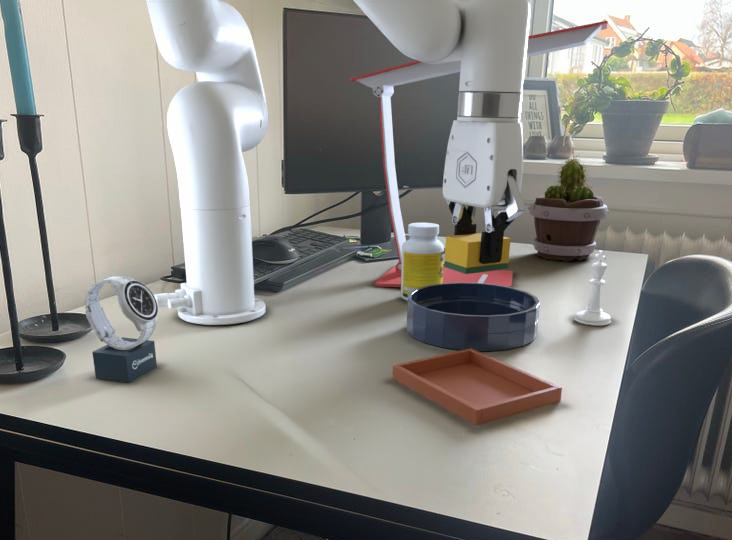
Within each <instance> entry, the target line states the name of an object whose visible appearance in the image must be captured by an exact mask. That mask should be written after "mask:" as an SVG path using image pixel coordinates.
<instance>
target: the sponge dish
mask: <svg viewBox="0 0 732 540" xmlns="http://www.w3.org/2000/svg"><path fill="white" fill-rule="evenodd" d="M391 374H392V379H393V380H395V381H396V382H398V383H400V384H402V385H403V386H405V387H407V388H409V389H411V390H412V391H414V392H416V393H418V394H419V395H421V396H423V397H425V398H427V399H428V400H430V401H432V402H434V403H435V404H437V405H439V406H441V407H442V408H444V409H446V410H448V411H450V412H451V413H453V414H455V415H457V417H458V416H459V417H460V418H462V419H464V420H465V421H467V422H469V423H471V424H472V425H474V426H479V425H483V424H486V423H490V422H493V421H497V420H501V419H504V418H507V417H510V416H511V417H512V416H514V415H518V414H522V413H524V412H529V411H532V410H535V409H536V410H537V409H539V408H543V407H546V406H550V405H554V404H557V403H561V400H562V391H563V387H562V386H559V385H557V384H555V383H553V382H550V381H548V380H546V379H544V378H541V377H539V376H536V375H534V374H532V373H530V372H527V371H525V370H522V369H521V368H518V367H516V366H513V365H511V364H510V363H506V362H505V361H503V360H499V359H498V358H494V357H493V356H491V355H488V354H486V353H484V352H482V351H477V350H474V349H472V348H470V349H466V350H457V351H452V352H447V353H443V354H438V355H433V356H429V357H425V358H424V357H423V358H419V359H414V360H410V361H406V362H401V363H400V362H399V363H395V364H392V373H391Z"/></svg>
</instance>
